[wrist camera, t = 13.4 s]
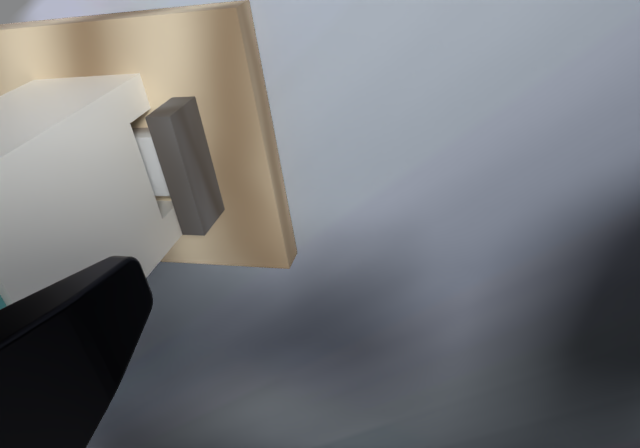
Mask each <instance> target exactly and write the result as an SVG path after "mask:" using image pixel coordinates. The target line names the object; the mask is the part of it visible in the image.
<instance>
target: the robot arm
mask: <svg viewBox="0 0 640 448" xmlns="http://www.w3.org/2000/svg"><path fill="white" fill-rule="evenodd" d="M152 305H153V297H152V293H151V290H150V287H149V285H148V282H147V279H146V277H145V274H144V272H143V269H142V266H141V264H140V262H139V261H138V260H137V259H136V258H134V257H132V256H110V257H108V258H106V259H104V260H102V261H99V262H97V263H95V264H93V265H91V266H89V267H87V268H85V269H83V270H81V271H79V272H77V273H75V274H73V275H70V276H68V277H66V278H64V279H62V280H60V281H58V282H56V283H54V284H52V285H50V286H48V287H46V288H43V289H41V290H39V291H37V292H35V293H33V294H31V295H29V296H27V297H25V298H23V299H21V300H19V301H17V302H14V303H12V304H10V305H8V306H6V307H4V308H2V309H0V448H86V446H87V445H88V443H89V441H90V439H91V437H92V435H93V434H94V432H95V430H96V428H97V426H98V424H99V423H100V421H101V419H102V417H103V415H104V413H105V412H106V410H107V408H108V406H109V404H110V402H111V400H112V398H113V397H114V395H115V393H116V391H117V389H118V387H119V384H120V382H121V380H122V378H123V376H124V373H125V371H126V369H127V366H128V364H129V361H130V359H131V357H132V354H133V352H134V350H135V347H136V345H137V343H138V340H139V338H140V335H141V333H142V331H143V328H144V326H145V324H146V321H147V319H148V317H149V314H150V312H151V309H152Z"/></svg>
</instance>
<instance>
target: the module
mask: <svg viewBox="0 0 640 448" xmlns="http://www.w3.org/2000/svg"><path fill="white" fill-rule="evenodd" d="M149 109H151V108H150V104H149V101H148V98H147V95H146V92H145V88H144V85H143V82H142V79H141V76H140V73H136V74H120V75H103V76H87V77H71V78H55V79H38V80H32V81H30V82H28V83H26V84H24V85H22V86H20V87H18V88H16V89H14V90H12V91H9V92H7V93H5V94H3V95H1V96H0V309H2V308H4V307H6V306H8V305H10V304H12V303H14V302H17V301H19V300H21V299H23V298H25V297H27V296H29V295H31V294H33V293H35V292H37V291H39V290H41V289H43V288H46V287H48V286H50V285H52V284H54V283H56V282H58V281H60V280H62V279H64V278H66V277H68V276H70V275H73V274H75V273H77V272H79V271H81V270H83V269H85V268H87V267H89V266H91V265H93V264H95V263H97V262H99V261H102V260H104V259H106V258H108V257H110V256H132V257H134V258H136V259H137V260H138V261H139V262H140V264H141V266H142V269H143V272H144V274H145V277H146V278H147V277H148V275H149V274H150V273H151V272H152V271H153V269H154V268H155V267H156V266H157V265H158V263H159V262H160V261H161V260H162V259H163V257H164V256H165V255H166V254H167V253H168V251H169V250H170V249H171V248H172V247H173V245H174V244H175V243H176V242H177V241H178V239H179V238H180V237H181V236H182V232H181V229H180V225H179V222H178V219H177V216H176V213H175V210H174V207H173V203H172V201H163V200H156V198H155V195H154V192H153V189H152V186H151V183H150V180H149V178H148V175H147V172H146V169H145V166H144V163H143V160H142V157H141V154H140V151H139V148H138V145H137V142H136V139H135V136H134V133H133V130H132V127H131V124H130V123H131V122H133V121H134V120H136V119H137V118H138V117H140V116H141V115H142V114H144V113H145V112H147V111H148V110H149Z"/></svg>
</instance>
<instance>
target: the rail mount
mask: <svg viewBox="0 0 640 448" xmlns="http://www.w3.org/2000/svg"><path fill="white" fill-rule="evenodd" d="M136 73H140V76H141V79H142V82H143V85H144V88H145V92H146V95H147V98H148V101H149V104H150V108H151V109H149V110H148V111H147V112H145V113H144V114H142V115H141V116H140V117H138V118H137V119H136V120H134V121H133V122H131V123H130V124H131V127H132V130H133V133H134V136H135V139H136V142H137V145H138V148H139V151H140V154H141V157H142V160H143V163H144V166H145V169H146V172H147V175H148V178H149V180H150V183H151V186H152V189H153V192H154V195H155V198H156V200H163V201H172V203H173V207H174V210H175V213H176V216H177V219H178V222H179V225H180V229H181V232H182V236H181V237H180V238H179V239H178V241H177V242H176V243H175V244H174V245H173V247H172V248H171V249H170V250H169V251H168V253H167V254H166V255H165V256H164V257H163V259H162V260H161V261H160V262H177V263H195V264H213V265H231V266H249V267H267V268H285V269H290V267H291V265H292V263H293V261H294V259H295V257H296V255H297V248H296V243H295V238H294V233H293V228H292V222H291V217H290V212H289V207H288V201H287V196H286V191H285V186H284V180H283V175H282V170H281V165H280V159H279V154H278V149H277V144H276V139H275V133H274V128H273V123H272V118H271V112H270V107H269V102H268V97H267V91H266V86H265V81H264V76H263V71H262V65H261V60H260V55H259V50H258V44H257V39H256V34H255V29H254V23H253V18H252V13H251V8H250V2H249V0H244V1H234V2H224V3H214V4H203V5H193V6H183V7H173V8H163V9H153V10H143V11H133V12H122V13H112V14H102V15H92V16H82V17H72V18H62V19H52V20H42V21H31V22H21V23H11V24H1V25H0V96H1V95H3V94H5V93H7V92H9V91H12V90H14V89H16V88H18V87H20V86H22V85H24V84H26V83H28V82H30V81H32V80H38V79H55V78H71V77H87V76H103V75H120V74H136Z"/></svg>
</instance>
